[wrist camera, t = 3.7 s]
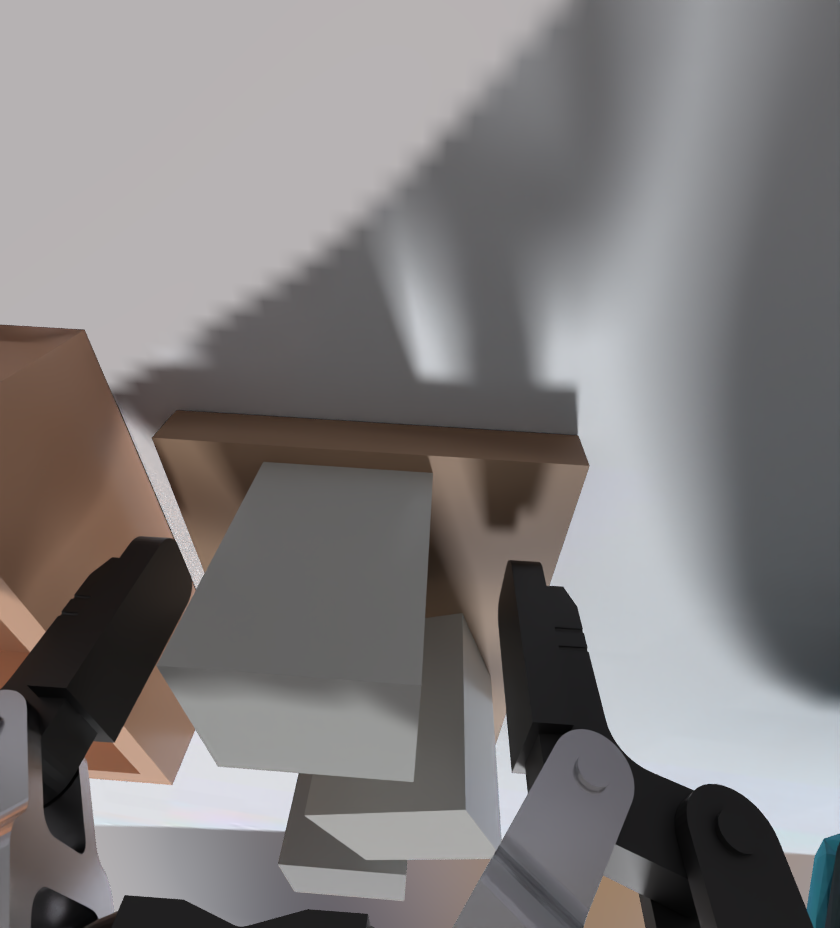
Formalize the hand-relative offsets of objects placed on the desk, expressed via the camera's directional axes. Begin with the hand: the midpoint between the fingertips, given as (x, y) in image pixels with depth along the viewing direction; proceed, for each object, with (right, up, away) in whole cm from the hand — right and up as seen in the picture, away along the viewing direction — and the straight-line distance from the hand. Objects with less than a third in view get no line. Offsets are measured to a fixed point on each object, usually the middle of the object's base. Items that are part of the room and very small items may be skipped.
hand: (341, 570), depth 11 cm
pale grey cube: (+2, -4, +4) cm, 6 cm away
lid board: (+1, -3, +5) cm, 6 cm away
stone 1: (0, +1, +1) cm, 1 cm away
